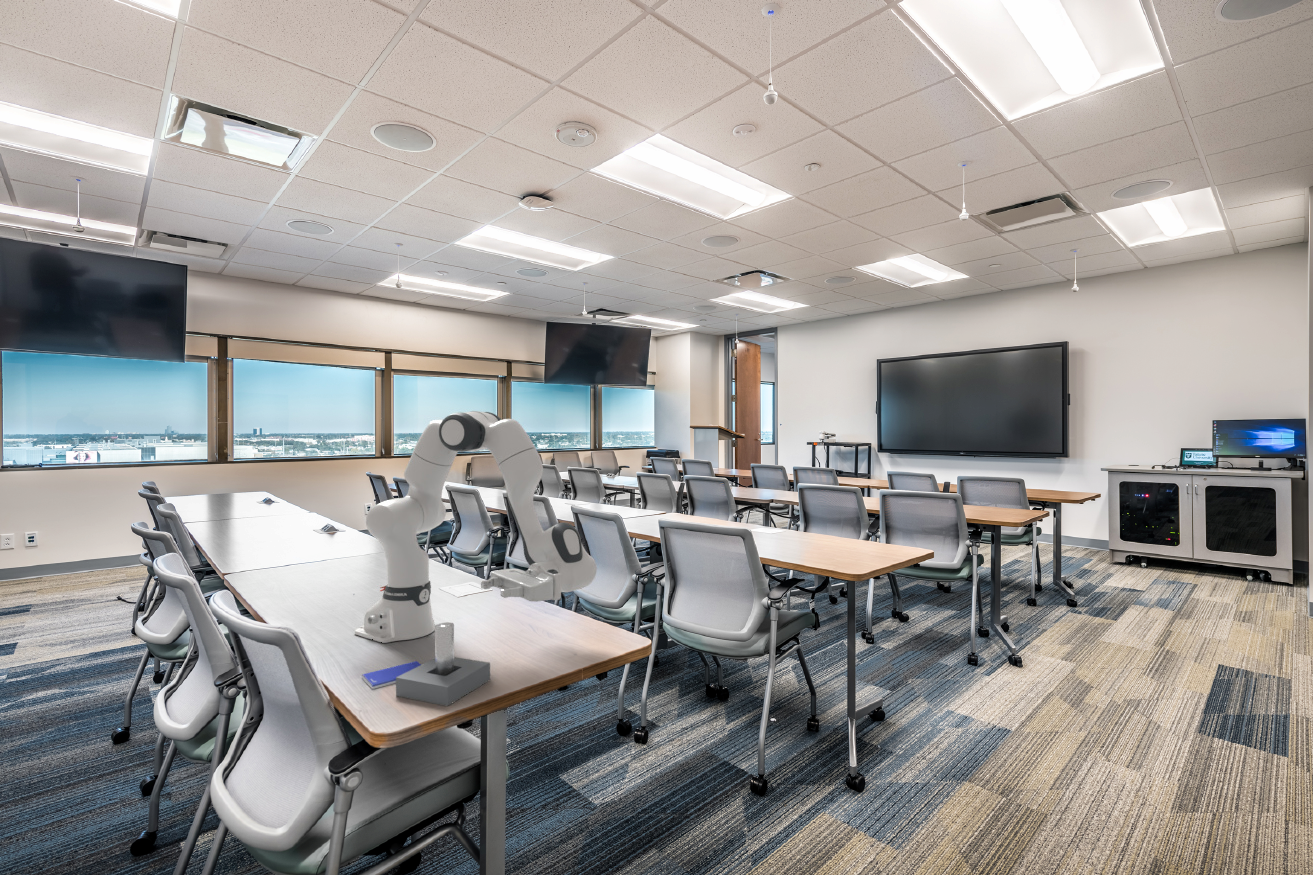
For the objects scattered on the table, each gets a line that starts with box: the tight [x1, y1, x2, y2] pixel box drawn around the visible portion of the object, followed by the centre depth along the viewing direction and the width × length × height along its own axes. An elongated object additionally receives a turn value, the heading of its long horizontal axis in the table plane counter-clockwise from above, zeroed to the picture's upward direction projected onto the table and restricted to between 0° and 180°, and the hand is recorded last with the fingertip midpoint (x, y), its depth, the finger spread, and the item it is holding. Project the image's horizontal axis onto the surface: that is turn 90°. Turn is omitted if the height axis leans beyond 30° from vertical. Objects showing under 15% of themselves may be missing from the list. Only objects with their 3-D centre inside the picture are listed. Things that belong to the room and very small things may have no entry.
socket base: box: [395, 656, 491, 707], centre depth 130 cm, size 14×14×4 cm
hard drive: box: [361, 660, 422, 690], centre depth 137 cm, size 2×8×12 cm
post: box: [434, 622, 455, 676], centre depth 130 cm, size 4×4×14 cm
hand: (491, 589), depth 139 cm, fingers open, 8 cm apart
